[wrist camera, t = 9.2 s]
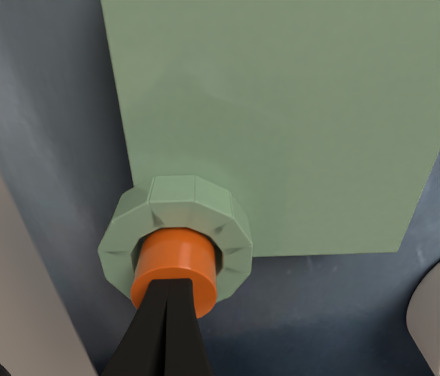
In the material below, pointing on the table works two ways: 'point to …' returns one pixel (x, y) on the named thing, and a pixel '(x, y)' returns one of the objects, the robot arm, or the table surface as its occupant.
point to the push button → (178, 265)
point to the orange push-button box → (272, 126)
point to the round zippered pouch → (426, 318)
